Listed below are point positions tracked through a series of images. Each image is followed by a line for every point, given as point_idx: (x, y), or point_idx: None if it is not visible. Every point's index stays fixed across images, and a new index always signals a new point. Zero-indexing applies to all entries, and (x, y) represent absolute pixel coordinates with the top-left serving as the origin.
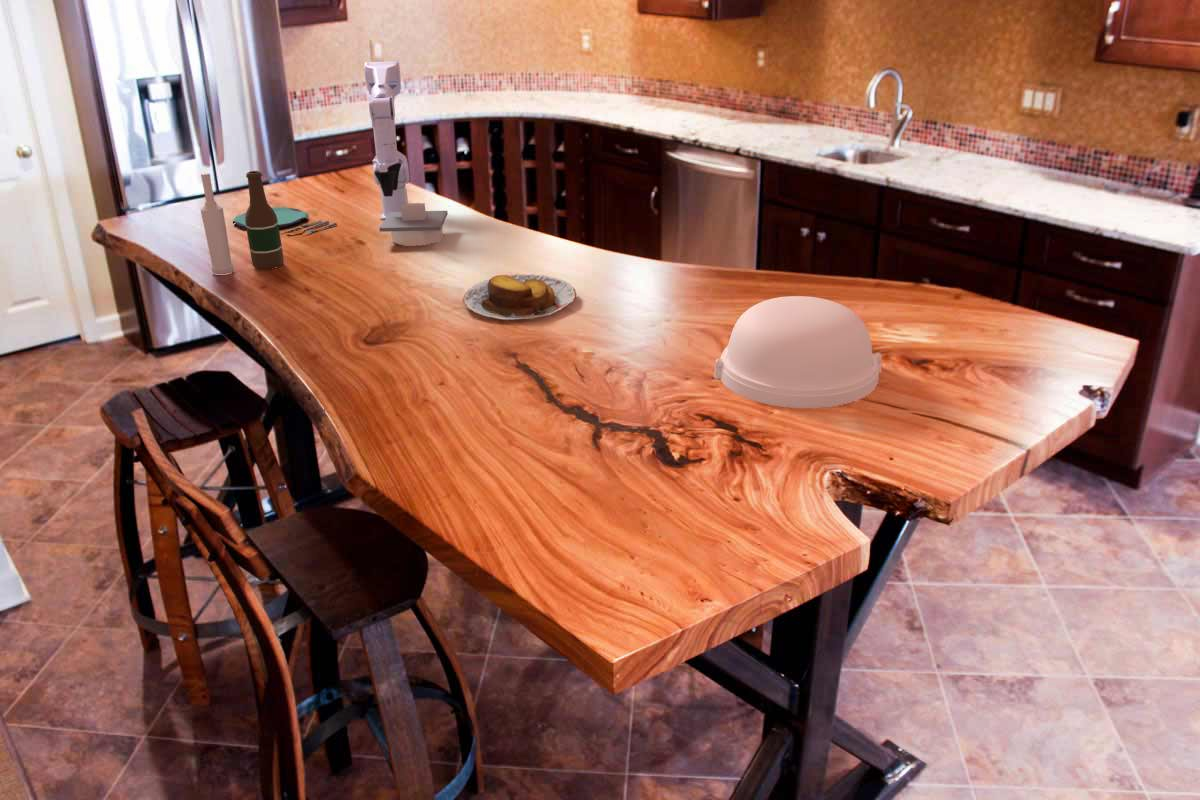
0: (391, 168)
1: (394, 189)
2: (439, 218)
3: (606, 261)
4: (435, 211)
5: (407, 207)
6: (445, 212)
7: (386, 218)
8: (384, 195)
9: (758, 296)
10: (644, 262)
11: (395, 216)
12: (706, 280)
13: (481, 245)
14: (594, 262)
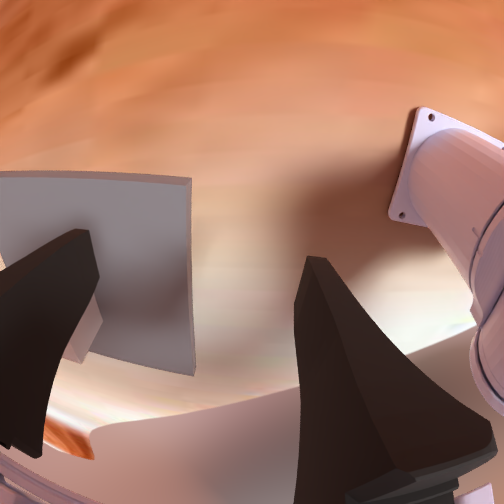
0: (322, 476)
1: (296, 295)
2: (101, 348)
3: (77, 415)
4: (181, 352)
5: None
6: (169, 369)
7: (68, 182)
8: (69, 232)
9: (47, 426)
10: (85, 427)
11: (99, 220)
12: (61, 427)
13: (91, 354)
14: (70, 409)
